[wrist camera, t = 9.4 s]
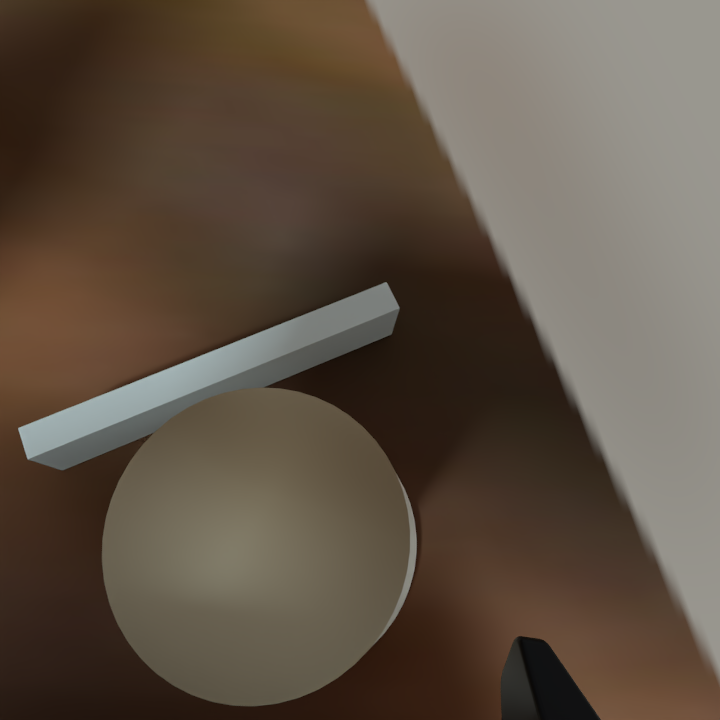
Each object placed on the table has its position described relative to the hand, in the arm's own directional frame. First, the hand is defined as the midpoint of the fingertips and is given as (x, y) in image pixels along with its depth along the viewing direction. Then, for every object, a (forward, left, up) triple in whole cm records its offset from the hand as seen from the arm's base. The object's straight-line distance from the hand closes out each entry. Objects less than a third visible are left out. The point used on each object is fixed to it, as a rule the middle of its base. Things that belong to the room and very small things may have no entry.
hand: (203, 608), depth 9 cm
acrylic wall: (+5, +4, -11) cm, 13 cm away
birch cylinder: (+1, 0, -11) cm, 11 cm away
